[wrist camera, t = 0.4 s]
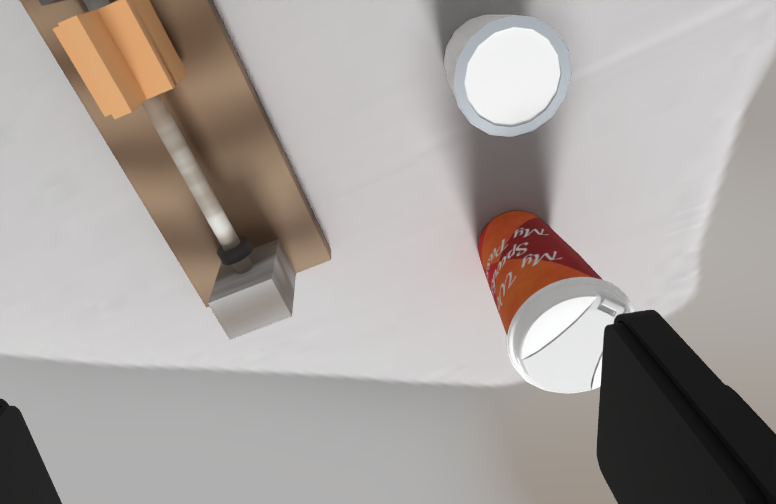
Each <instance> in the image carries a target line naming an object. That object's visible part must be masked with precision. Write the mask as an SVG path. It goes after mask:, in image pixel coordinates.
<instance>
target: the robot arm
mask: <svg viewBox="0 0 776 504" xmlns="http://www.w3.org/2000/svg"><path fill="white" fill-rule="evenodd" d="M600 387H601V388H600V403H599V419H598V436H597V458H598V463H599V466H600V470H601V472H602V474H603V476H604V478H605V480H606V482H607V484H608V486H609V487H610V489H611V491H612V493H613V495H614V497H615V499H616V500H617V502H618V504H776V434H775V433H774V432H773V431H772V430H771V429H770V428H769V427H768V426H767V425H766V423H765V422H764V421H763V420H762V419H761V418H760V417H759V416H758V415H757V414H756V413H755V412H754V411H753V410H752V409H751V407H750V406H749V405H748V404H747V403H746V402H745V401H744V400H743V399H742V398H741V397H740V396H739V395H738V394H737V393H736V392H735V391H734V390H733V389H732V388H730V387H729V386H727V385H725V384H724V383H722V381H721V380H720V379H719V378H718V377H717V376H716V375H715V374H714V373H713V372H712V370H710V368H709V367H708V366H707V365H706V364H705V363H704V362H703V361H702V360H701V359H700V358H699V356H698V355H697V354H696V353H695V352H694V351H693V350H692V349H691V348H690V347H689V346H688V345H687V344H686V342H685V341H684V340H683V339H682V338H681V337H680V336H679V335H678V334H677V333H676V332H675V331H674V330H673V328H672V327H671V326H670V325H669V324H668V323H667V322H666V321H665V320H664V319H663V318H662V317H661V316H660V314H659V313H657V312H656V311H655V310H646V311H639V312H631V313H624V314H618V315H617V316H616V317H615V319H614V324H610V325H607V326H606V327H605V329H604V337H603V354H602V370H601V386H600ZM0 504H62V503H61V501H60V498H59V496H58V494H57V492H56V489H55V487H54V485H53V483H52V480H51V478H50V476H49V474H48V472H47V470H46V467H45V465H44V463H43V461H42V458H41V456H40V454H39V452H38V449H37V447H36V445H35V443H34V440H33V438H32V436H31V434H30V432H29V429H28V427H27V425H26V423H25V420H24V418H23V416H22V414H21V412H20V410H19V409H18V408H17V407H15V406H9V405H8V403H7V402H6V401H4V400H3V399H0Z"/></svg>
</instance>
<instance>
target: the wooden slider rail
mask: <svg viewBox="0 0 776 504" xmlns="http://www.w3.org/2000/svg"><path fill="white" fill-rule="evenodd" d="M20 1H21V3H22V5H23V6H24V8H25V10H26V11H27V13H28V15H29V16H30V18H31V19H32V21H33V23H34V24H35V26H36V28H37V29H38V31H39V33H40V34H41V36H42V38H43V39H44V41H45V43H46V44H47V46H48V47H49V49H50V51H51V52H52V54H53V56H54V57H55V59H56V61H57V62H58V64H59V66H60V67H61V69H62V70H63V72H64V74H65V75H66V77H67V79H68V80H69V82H70V84H71V85H72V87H73V89H74V90H75V92H76V94H77V95H78V97H79V98H80V100H81V102H82V103H83V105H84V107H85V108H86V110H87V112H88V113H89V115H90V117H91V118H92V120H93V121H94V123H95V125H96V126H97V128H98V130H99V131H100V133H101V135H102V136H103V138H104V140H105V141H106V143H107V145H108V146H109V148H110V149H111V151H112V153H113V154H114V156H115V158H116V159H117V161H118V163H119V164H120V166H121V168H122V169H123V171H124V173H125V174H126V176H127V177H128V179H129V181H130V182H131V184H132V186H133V187H134V189H135V191H136V192H137V194H138V196H139V197H140V199H141V200H142V202H143V204H144V205H145V207H146V209H147V210H148V212H149V214H150V215H151V217H152V219H153V220H154V222H155V224H156V225H157V227H158V228H159V230H160V232H161V233H162V235H163V237H164V238H165V240H166V242H167V243H168V245H169V247H170V248H171V250H172V251H173V253H174V255H175V256H176V258H177V260H178V261H179V263H180V265H181V266H182V268H183V270H184V271H185V273H186V275H187V276H188V278H189V279H190V281H191V283H192V284H193V286H194V288H195V289H196V291H197V293H198V294H199V296H200V298H201V299H202V301H203V303H204V304H205V306H206V307H209V306H210V308H211V309H212V311H213V313H214V314H215V316H216V318H217V319H218V321H219V323H220V324H221V326H222V328H223V329H224V331H225V332H226V334H227V336H228V337H229V339H233V338H236V337H238V336H241V335H244V334H246V333H249V332H252V331H254V330H257V329H260V328H262V327H265V326H267V325H270V324H273V323H275V322H278V321H281V320H283V319H286V318H289V317H291V316H292V309H293V298H294V287H295V276H296V273H298V272H300V271H303V270H305V269H308V268H311V267H313V266H316V265H318V264H321V263H324V262H326V261H329V260H331V250H330V248H329V245H328V243H327V241H326V239H325V237H324V235H323V233H322V231H321V229H320V226H319V224H318V222H317V220H316V218H315V216H314V214H313V212H312V210H311V208H310V205H309V203H308V201H307V199H306V197H305V195H304V193H303V191H302V189H301V186H300V184H299V182H298V180H297V178H296V176H295V174H294V172H293V170H292V167H291V165H290V163H289V161H288V159H287V157H286V155H285V153H284V151H283V149H282V146H281V144H280V142H279V140H278V138H277V136H276V134H275V132H274V130H273V127H272V125H271V123H270V121H269V119H268V117H267V115H266V113H265V111H264V109H263V106H262V104H261V102H260V100H259V98H258V96H257V94H256V92H255V90H254V87H253V85H252V83H251V81H250V79H249V77H248V75H247V73H246V71H245V68H244V66H243V64H242V62H241V60H240V58H239V56H238V54H237V52H236V50H235V47H234V45H233V43H232V41H231V39H230V37H229V35H228V33H227V31H226V28H225V26H224V24H223V22H222V20H221V18H220V16H219V14H218V12H217V9H216V7H215V5H214V3H213V1H212V0H149V1H150V2H151V4H152V6H153V8H154V10H155V12H156V14H157V16H158V18H159V20H160V22H161V24H162V26H163V28H164V30H165V31H166V33H167V35H168V37H169V39H170V41H171V43H172V45H173V47H174V49H175V51H176V53H177V55H178V57H179V58H180V60H181V62H182V64H183V66H184V68H185V70H186V72H187V74H188V75H187V76H186V77H185V78H184V79H183V80H182V81H181V82H180V83H178V84H177V85H176V86H175V87H174V88H173V89H171V90H168V91H166V92H164V93H161V94H159V95H156V96H154V97H152V98H149V99H147V100H146V101H144V102H143V103H142V104H141V105H140V106H139V107H137V108H136V109H135V110H134V111H133V112H131V113H129V114H126V115H124V116H122V117H119V118H117V119H114V118H113V116H112V114H111V115H108V116H106V117H105V116H104V115H103V113H102V111H101V110H100V108H99V106H98V105H97V103H96V101H95V99H94V98H93V96H92V94H91V93H90V91H89V89H88V88H87V86H86V84H85V83H84V81H83V79H82V78H81V76H80V74H79V73H78V71H77V69H76V68H75V66H74V64H73V63H72V61H71V59H70V58H69V56H68V54H67V53H66V51H65V49H64V48H63V46H62V44H61V43H60V41H59V39H58V38H57V36H56V34H55V32H54V31H53V28H55V27H58V26H59V25H58V23H60V22H62V21H64V20H67V19H69V18H71V17H73V16H76V15H79V14H83V13H86V12H90V11H94V10H97V9H99V8H102V7H104V6H106V5H109V4H111V3H113V2H116V1H118V0H20Z"/></svg>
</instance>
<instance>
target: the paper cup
mask: <svg viewBox="0 0 776 504" xmlns="http://www.w3.org/2000/svg"><path fill="white" fill-rule="evenodd" d="M478 250H479V256H480V260H481V263H482V266H483V270H484V272H485V275H486V278H487V281H488V284H489V287H490V290H491V292H492V295H493V298H494V301H495V304H496V306H497V309H498V312H499V315H500V317H501V320H502V323H503V326H504V329H505V331H506V334H507V350H508V354H509V357H510V360H511V362H512V364H513V365H514V367H515V369H516V370H517V371H518V372H519V373H520V374H521V375H522V377H523V378H524V379H525V381H527V382H529V383H531V384H533V385H535V386H536V387H538V388H540V389H543V390H546V391H551V392H558V393H577V392H584V391H588V390H593V389H596V388H598V387H600V386H601V370H602V354H603V337H604V329H605V327H606V326H607V325H610V324H614V319H615V317H616V316H617V315H618V314H624V313H631V312H634V309H633V307H632V304H631V302H630V300H629V299H628V298H627V296H626V295H625V294H624V293H623V292H622V291H621V290H620V289H619V288H618V287H616V286H615V285H613V284H611V283H609V282H607V281H604V280H603V279H602V278H601V277H600V276H599V275H598V274H597V273H596V272H595V271H594V270H593V269H592V268H591V267H590V266H589V265H588V264H587V263H586V262H585V261H584V259H583V258H582V257H581V256H580V255H579V254H578V253H577V252H576V251H575V250H574V249H572V248H571V247H570V246H569V245H568V244H567V243H566V242H565V241H564V240H563V239H562V238H561V237H560V236H559V235H557V234H556V233H555V232H554V231H553V230H552V229H551V228H550V227H549V226H548V225H547V224H546V223H545V222H544V221H543V220H541V219H540V218H539V217H537V216H536V215H534V214H532V213H530V212H526V211H509V212H506V213H503V214H501V215H499V216H497V217H495V218H494V219H493V220H491V221H490V222H489V223H488V224H487V225H486V227H485V228H484V230H483V231H482V233H481V236H480V239H479V244H478Z"/></svg>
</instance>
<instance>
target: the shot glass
mask: <svg viewBox="0 0 776 504" xmlns="http://www.w3.org/2000/svg"><path fill="white" fill-rule="evenodd" d="M444 67H445V71H446V76H447V80H448V82H449V85H450V87H451V90H452V92H453V95H454V97H455V100H456V102H457V105H458V107H459V108H460V110H461V111H462V112H463V114H464V115H465V116H466V118H467V119H468V121H469V122H470V123H471V124H472V125H473V126H475V127H477V128H479V129H480V130H482V131H484V132H486V133H488V134H489V135H496V136H506V137H514V136H517V135H521V134H524V133H527V132H531V131H534V130H535V129H536V128H538V127H539V126H540V125H542V124H543V123H544V122H546V121H547V120H549V119H550V118H551V117H553V115H554V113H555V112H556V110H557V109H558V107H559V106H560V104H561V103H562V101H563V100H564V98H565V97H566V94H567V90H568V85H569V81H570V77H571V66H570V59H569V51H568V48H567V47H566V45H565V44H564V42H563V40H562V39H561V37H560V35H559V34H558V32H557V31H556V30H555V29H554V28H552V27H551V26H549V25H548V24H546V23H544V22H543V21H541V20H540V19H538V18H536V17H528V16H520V15H482V16H479V17H475V18H472V19H469V20H467V21H466V22H465V23H464V24H463V25H461V26H460V27H459V28H458V29H456V30H455V32H454V33H453V35H452V37H451V39H450V40H449V42H448V44H447V46H446V51H445V57H444Z"/></svg>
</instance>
